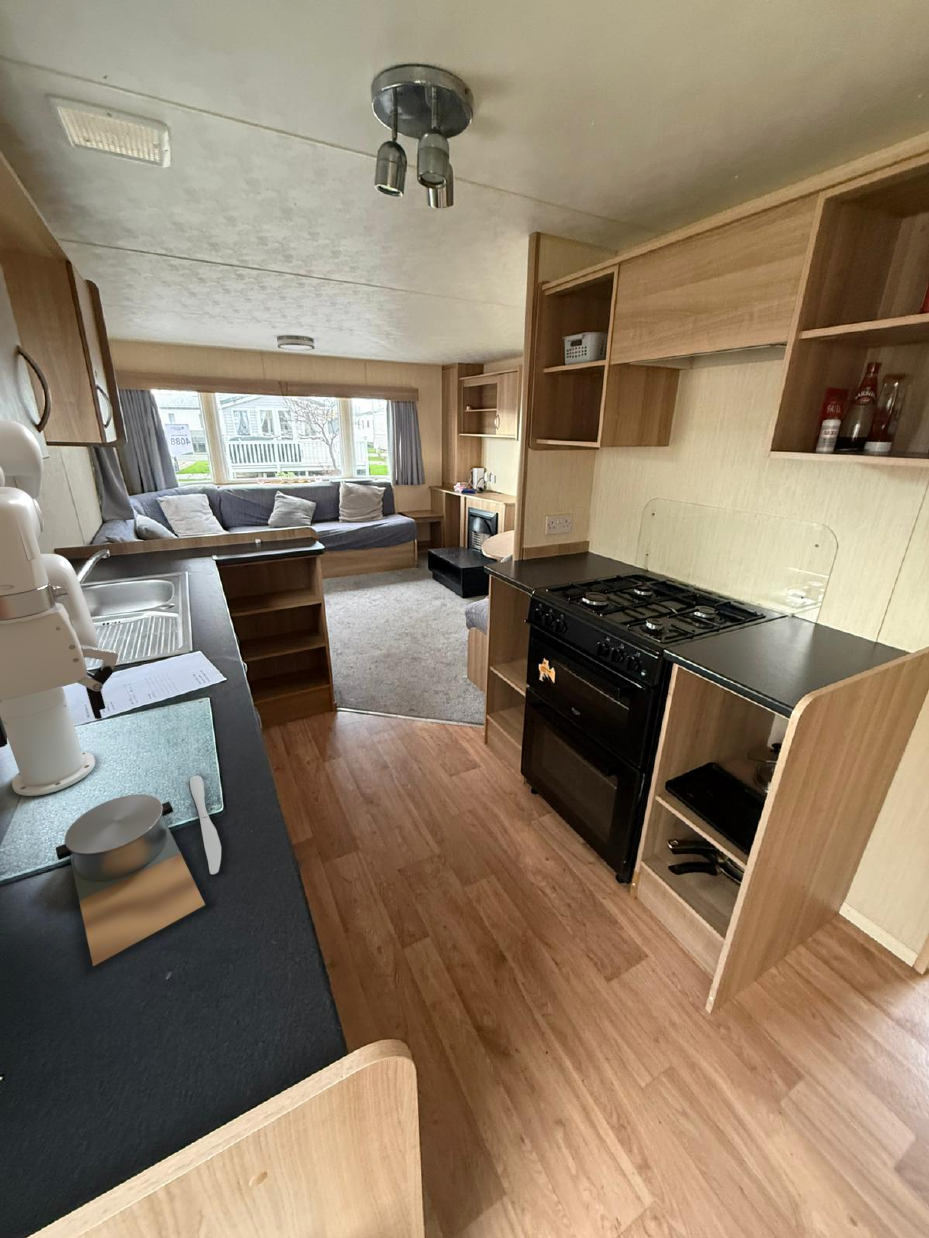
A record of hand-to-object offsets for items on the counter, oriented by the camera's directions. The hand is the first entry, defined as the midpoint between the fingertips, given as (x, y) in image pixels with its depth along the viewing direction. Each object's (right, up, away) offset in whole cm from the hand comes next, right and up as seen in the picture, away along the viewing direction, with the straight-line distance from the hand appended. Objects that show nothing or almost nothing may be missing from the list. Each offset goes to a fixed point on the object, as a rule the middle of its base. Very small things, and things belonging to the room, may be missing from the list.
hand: (52, 727), depth 65 cm
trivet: (+8, -26, +6) cm, 28 cm away
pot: (0, -23, +14) cm, 27 cm away
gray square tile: (0, -23, +14) cm, 27 cm away
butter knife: (+9, -21, +21) cm, 31 cm away
